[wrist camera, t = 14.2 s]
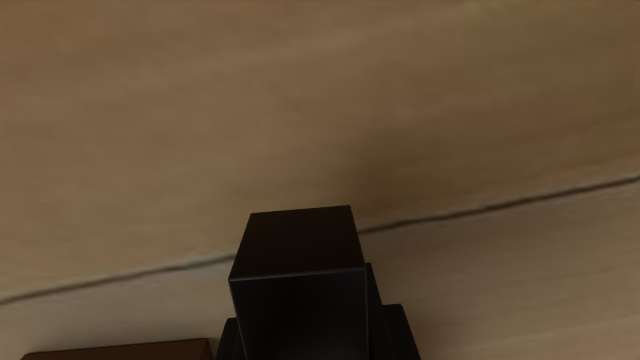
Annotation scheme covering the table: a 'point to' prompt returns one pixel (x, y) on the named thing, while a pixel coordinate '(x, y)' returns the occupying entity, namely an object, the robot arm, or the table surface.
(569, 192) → the table surface
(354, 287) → the cake knife
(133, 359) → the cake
